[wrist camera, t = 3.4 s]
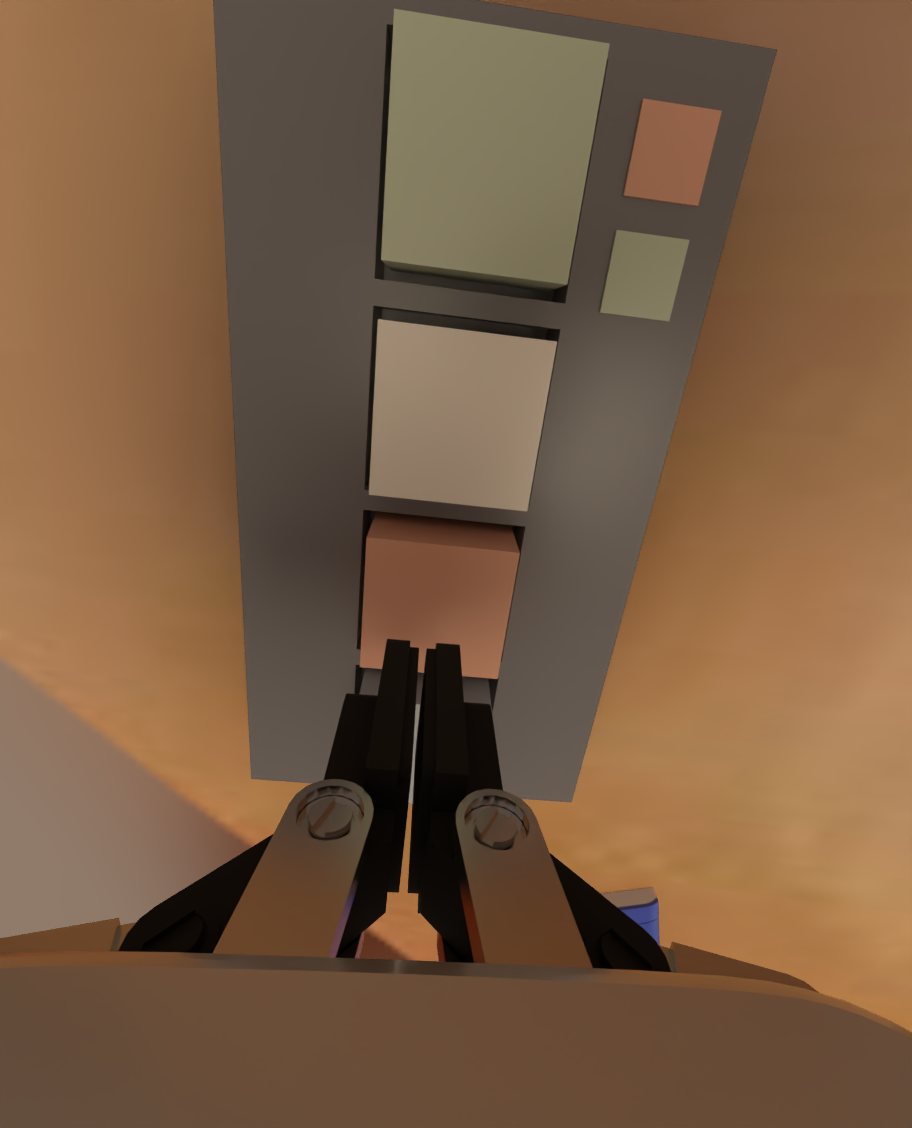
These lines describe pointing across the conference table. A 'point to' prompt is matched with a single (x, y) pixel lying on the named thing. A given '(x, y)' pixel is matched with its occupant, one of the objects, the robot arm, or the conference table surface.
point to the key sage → (487, 150)
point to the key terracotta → (438, 588)
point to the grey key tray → (372, 291)
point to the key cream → (457, 414)
